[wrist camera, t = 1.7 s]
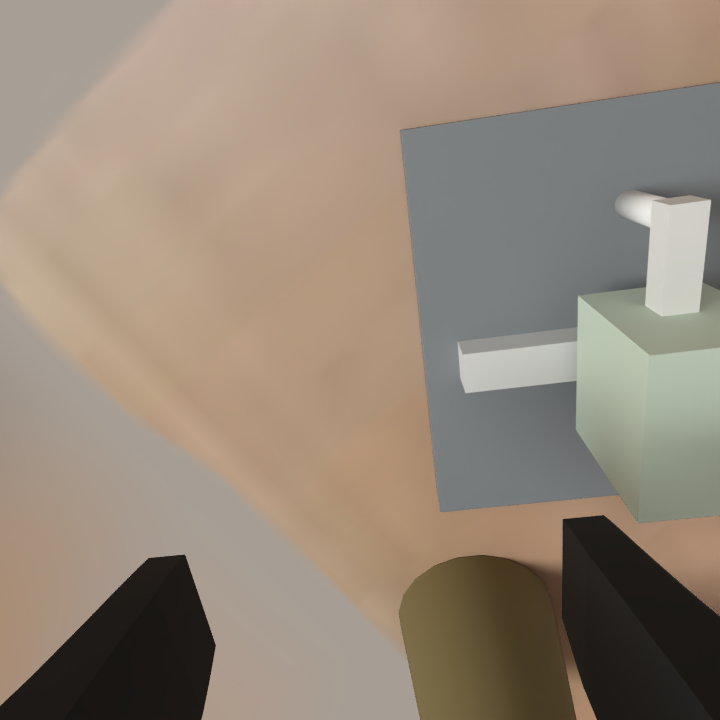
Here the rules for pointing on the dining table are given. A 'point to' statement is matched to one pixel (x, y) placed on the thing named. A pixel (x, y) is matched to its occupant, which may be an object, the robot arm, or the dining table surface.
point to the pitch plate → (537, 273)
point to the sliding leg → (656, 369)
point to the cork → (484, 643)
